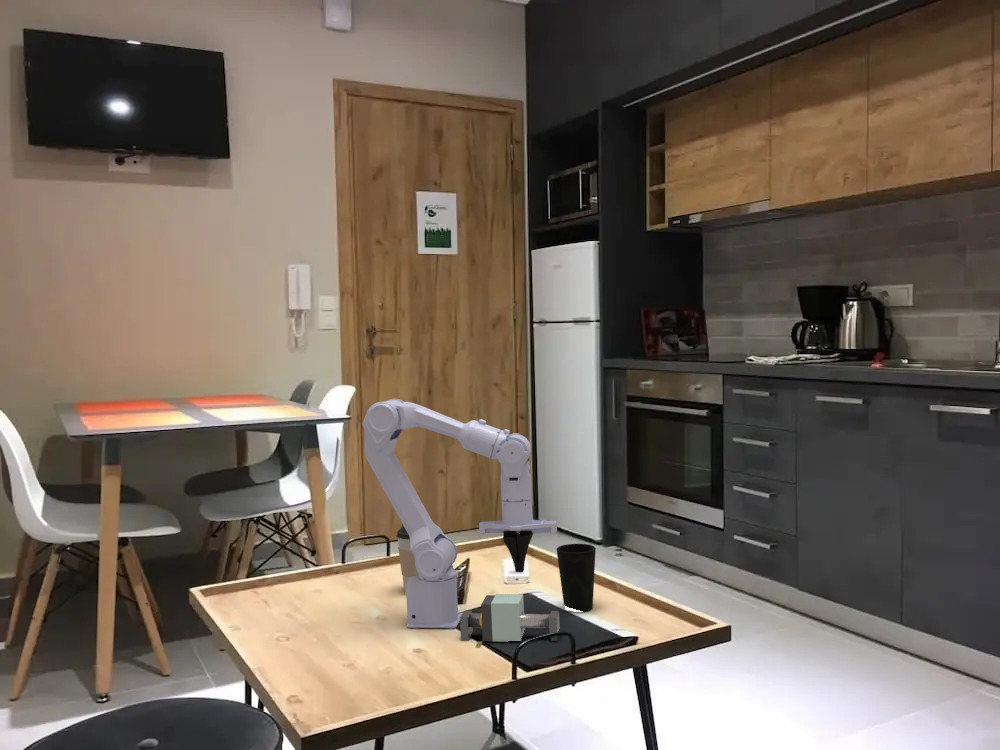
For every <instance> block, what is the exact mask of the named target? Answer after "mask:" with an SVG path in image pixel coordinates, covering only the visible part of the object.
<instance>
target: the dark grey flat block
mask: <svg viewBox="0 0 1000 750" xmlns="http://www.w3.org/2000/svg"><path fill="white" fill-rule="evenodd" d="M495 595H496V594H495ZM495 595H494V594H486V596H485V597H484V599H483V601H482V602H481V604H480V611H481V612H480V613H481V615H482V628H481V631H482V633H481V634H482V642H494V641H493V637H492V615H491V602H492V601H493V599H494V597H495Z"/></svg>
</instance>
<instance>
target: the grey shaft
mask: <svg viewBox="0 0 1000 750" xmlns="http://www.w3.org/2000/svg"><path fill="white" fill-rule="evenodd" d="M559 611H560V610H551V611H550V613H524V614H521V615H520V616H521V628H525V629H527V628H528V629H548V631H549V634H550V633H552V632H558V631H559V629H561V627H560V612H559ZM461 613H462V615H461V617H460V622H459V626H460V641H464V642H465V641H466V642H467V641H470V639H471V637H472V636H471V634H472V632H473V633H474V629H473V628H479V629H482V615H481V612H480V613H473V611H472V610H471V609H470V610H467V609H466V610H463V612H461ZM472 635H473V634H472ZM483 642H484V641H477V642H476V645H475V647H474V648H481V647H482V645H483Z"/></svg>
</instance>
